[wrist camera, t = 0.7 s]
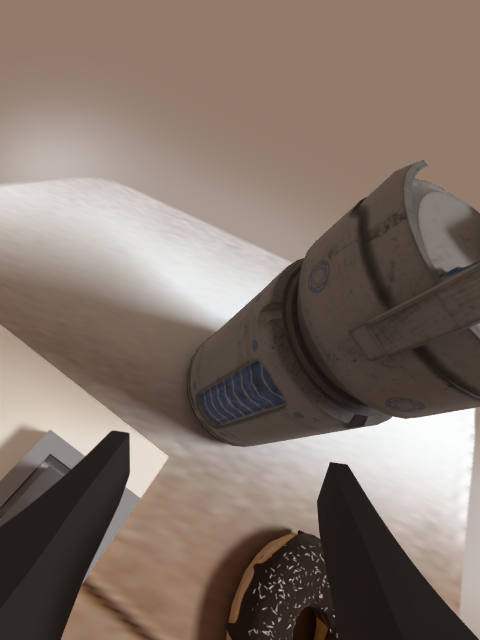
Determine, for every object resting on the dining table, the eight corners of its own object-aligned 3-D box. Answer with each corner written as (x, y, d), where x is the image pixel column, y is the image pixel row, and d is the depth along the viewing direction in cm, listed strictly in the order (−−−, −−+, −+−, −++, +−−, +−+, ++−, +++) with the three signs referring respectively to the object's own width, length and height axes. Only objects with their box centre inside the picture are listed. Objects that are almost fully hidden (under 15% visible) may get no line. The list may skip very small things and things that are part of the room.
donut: (360, 581, 29) (397, 593, 26) (309, 775, 23) (352, 824, 19) (267, 504, 28) (294, 508, 25) (184, 683, 21) (207, 719, 18)
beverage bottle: (313, 395, 35) (676, 278, 14) (215, 479, 27) (698, 478, 7) (261, 312, 36) (529, 97, 16) (152, 370, 28) (406, 92, 8)
